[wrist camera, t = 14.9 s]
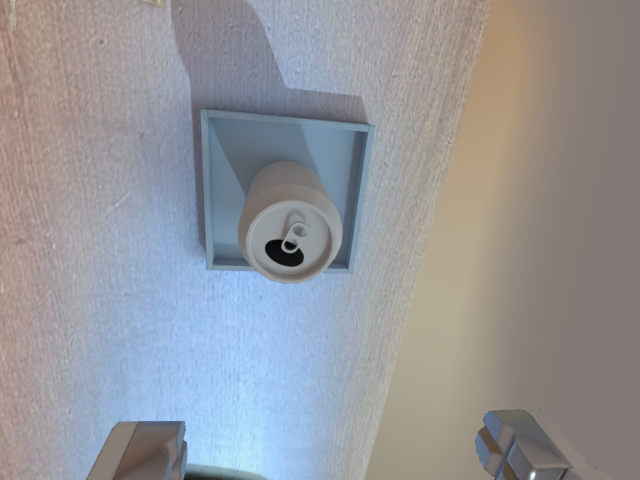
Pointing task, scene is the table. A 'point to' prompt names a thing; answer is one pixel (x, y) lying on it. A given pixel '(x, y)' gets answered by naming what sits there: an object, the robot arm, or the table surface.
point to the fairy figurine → (160, 3)
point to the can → (289, 224)
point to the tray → (269, 147)
